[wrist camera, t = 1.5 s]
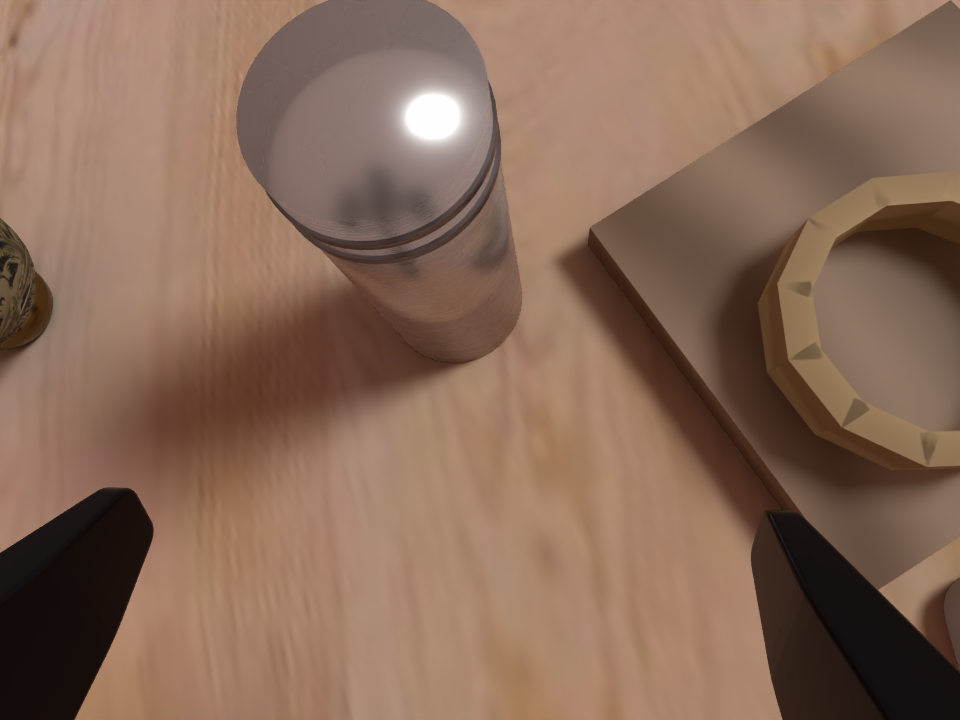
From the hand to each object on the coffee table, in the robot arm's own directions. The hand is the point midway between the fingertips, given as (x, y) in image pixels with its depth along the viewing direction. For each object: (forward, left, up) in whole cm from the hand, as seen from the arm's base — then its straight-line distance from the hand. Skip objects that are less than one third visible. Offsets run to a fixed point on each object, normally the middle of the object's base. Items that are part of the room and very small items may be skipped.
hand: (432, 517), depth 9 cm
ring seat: (+16, -1, -14) cm, 21 cm away
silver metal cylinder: (+3, +8, -14) cm, 16 cm away
